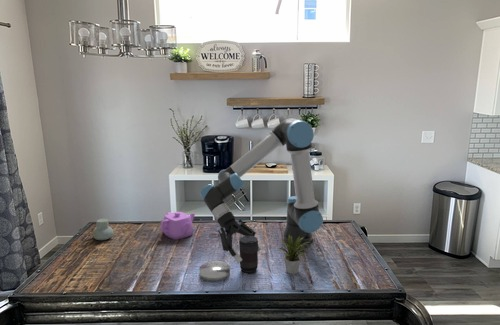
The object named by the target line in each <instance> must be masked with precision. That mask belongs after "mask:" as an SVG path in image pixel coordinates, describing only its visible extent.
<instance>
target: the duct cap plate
mask: <svg viewBox="0 0 500 325" xmlns="http://www.w3.org/2000/svg"><path fill="white" fill-rule="evenodd" d="M230 275H231V266H230V265H229V264H228V263H227V262H224V261H221V260H211V261H207V262H204V263H203V264H201V265H200V266H199V277H200V279H201V280H203V281H205V282H208V283H219V282H224V281H226V280H227V279H229V277H230Z"/></svg>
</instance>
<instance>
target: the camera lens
mask: <svg viewBox="0 0 500 325" xmlns="http://www.w3.org/2000/svg"><path fill="white" fill-rule="evenodd" d="M258 244H259V240H258V237H257V236H256V235H255V236H244V235H242V236H241V237H240V238H239V244H238V248H239V249H238V250H239V255H240V257H241V258H242V261H241V262H239V267H240V271H241V273H243V274H244V275H254V274H256V273H257V269H258V265H259V259H258V258H259V257H258V252H259V251H258Z"/></svg>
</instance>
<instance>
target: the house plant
mask: <svg viewBox="0 0 500 325" xmlns="http://www.w3.org/2000/svg"><path fill="white" fill-rule="evenodd" d="M299 237H300V236H299ZM299 237H298V239H297V240H296V242H295V243H294V244H293V239H292V236H291V237H290V235H289V236H288V240H289V242H287V241H285V240H284V239H283V238H281V241H283V243H282V246H284V247H279V248H278V249H279V250H281V251H284V252H285V253H284V264H285V270H286V273H288V274H289V275H296V274H297V273H298V272H299V269H300V264H301V260H302V259H301V257H302V258H303V259H304V254H303V253H307V251H306V250H307V248H304V246H308V245H309V246H310V244H309V243H311V242H306V244H305V243H303V244H300V242H301V240H302V239H303V237H302V238H301V239H299ZM298 240H299V241H298ZM300 256H301V257H300Z"/></svg>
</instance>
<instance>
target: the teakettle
mask: <svg viewBox="0 0 500 325" xmlns="http://www.w3.org/2000/svg"><path fill="white" fill-rule="evenodd" d="M195 216H196V214H195V213H190V215H188V214H187V213H185V212H182V211H175V212H171V211H170V212H166V214H165V215H164V217H163V220H160V227H159V228H160V231H161V232H162V233H163V234H164V235H165V236H166V237H168V238H170V239H172V240H174V241H178V240H180V239H181V240H182V239H185V238H188V237H191V236H193V234H194V227H193V220H194V219H195Z"/></svg>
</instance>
